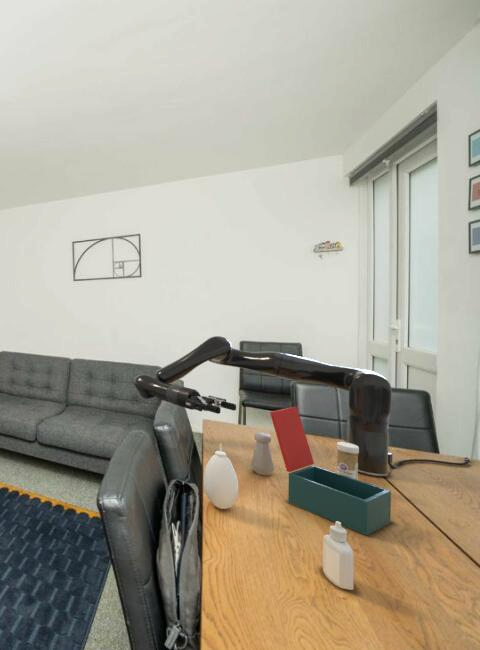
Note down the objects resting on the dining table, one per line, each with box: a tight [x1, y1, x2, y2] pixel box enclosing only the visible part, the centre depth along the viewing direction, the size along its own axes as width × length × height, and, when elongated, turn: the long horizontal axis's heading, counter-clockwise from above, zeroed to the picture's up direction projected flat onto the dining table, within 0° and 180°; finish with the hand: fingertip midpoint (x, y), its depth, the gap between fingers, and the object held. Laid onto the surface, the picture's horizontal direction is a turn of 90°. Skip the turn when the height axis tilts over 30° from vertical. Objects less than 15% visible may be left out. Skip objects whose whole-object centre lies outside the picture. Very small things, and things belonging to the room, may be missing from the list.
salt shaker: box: [251, 432, 275, 476], centre depth 118 cm, size 6×6×13 cm
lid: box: [269, 406, 315, 473], centre depth 104 cm, size 16×13×1 cm
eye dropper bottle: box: [322, 521, 355, 591], centre depth 72 cm, size 4×6×12 cm
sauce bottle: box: [203, 442, 239, 510], centre depth 98 cm, size 8×8×18 cm
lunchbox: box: [287, 464, 392, 536], centre depth 95 cm, size 16×13×8 cm
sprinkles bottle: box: [336, 441, 359, 480], centre depth 107 cm, size 5×5×14 cm
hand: (227, 409), depth 120 cm, fingers open, 8 cm apart
